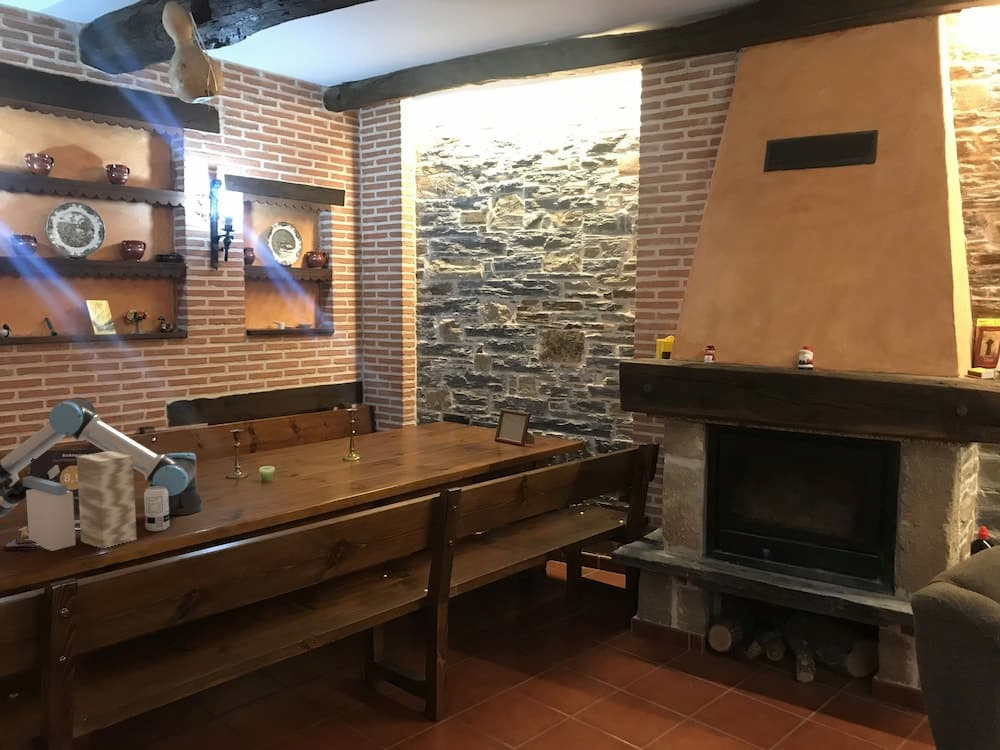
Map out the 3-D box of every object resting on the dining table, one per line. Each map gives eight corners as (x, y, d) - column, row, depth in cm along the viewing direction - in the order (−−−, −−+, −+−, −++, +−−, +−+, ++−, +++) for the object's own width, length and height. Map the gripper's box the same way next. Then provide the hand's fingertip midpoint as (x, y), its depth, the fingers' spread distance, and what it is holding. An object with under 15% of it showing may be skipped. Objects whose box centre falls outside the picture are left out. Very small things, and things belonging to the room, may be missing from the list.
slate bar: (31, 484, 285) (31, 476, 285) (67, 493, 273) (66, 485, 272) (23, 486, 283) (22, 477, 283) (58, 495, 270) (57, 486, 270)
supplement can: (140, 528, 295) (139, 489, 293) (160, 523, 302) (159, 484, 300) (153, 533, 291) (152, 493, 289) (174, 527, 298) (172, 488, 295)
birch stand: (113, 532, 291) (110, 450, 288) (136, 539, 283) (132, 455, 280) (81, 541, 281) (76, 456, 278) (103, 548, 273) (99, 461, 270)
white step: (52, 537, 286) (49, 485, 284) (75, 544, 277) (72, 492, 275) (29, 542, 279) (26, 490, 277) (51, 550, 271) (49, 496, 269)
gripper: (51, 496, 300) (76, 475, 289) (-22, 511, 280) (2, 489, 268) (45, 478, 302) (70, 456, 290) (-29, 491, 281) (-5, 468, 270)
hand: (37, 472), depth 279 cm, fingers open, 13 cm apart
